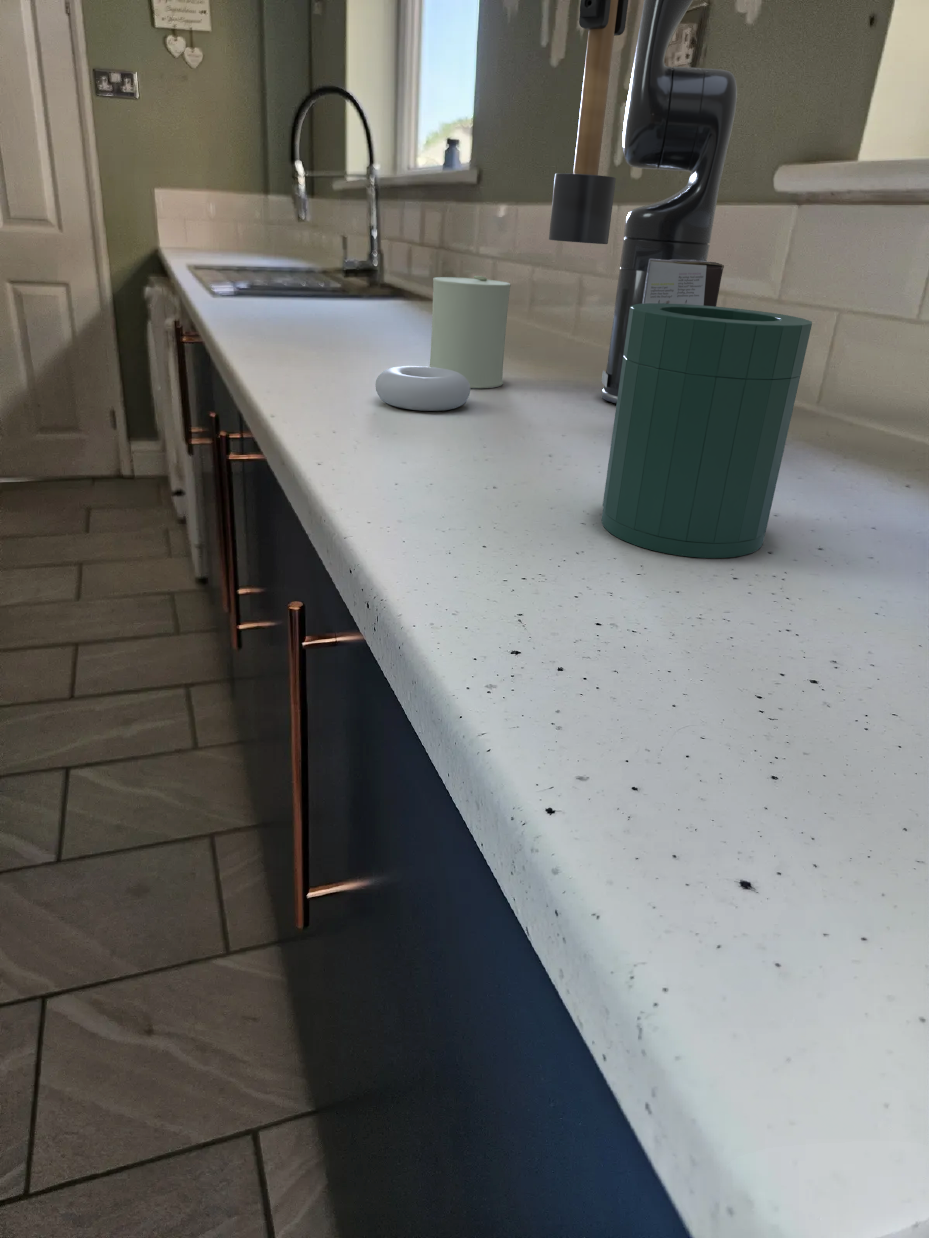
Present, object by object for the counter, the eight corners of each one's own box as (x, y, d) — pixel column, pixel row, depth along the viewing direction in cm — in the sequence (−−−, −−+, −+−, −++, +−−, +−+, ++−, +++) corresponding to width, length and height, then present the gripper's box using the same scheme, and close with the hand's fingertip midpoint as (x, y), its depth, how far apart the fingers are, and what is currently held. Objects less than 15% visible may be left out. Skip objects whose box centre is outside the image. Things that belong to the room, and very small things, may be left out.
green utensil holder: (646, 496, 66) (677, 301, 60) (786, 532, 60) (835, 320, 54) (571, 526, 58) (598, 306, 52) (723, 571, 52) (773, 329, 46)
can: (512, 381, 109) (521, 278, 104) (488, 392, 101) (496, 281, 96) (444, 372, 112) (450, 271, 107) (415, 382, 104) (420, 274, 99)
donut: (434, 420, 86) (487, 404, 94) (436, 384, 85) (489, 372, 92) (355, 404, 91) (411, 390, 98) (355, 370, 89) (412, 359, 97)
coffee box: (692, 453, 80) (725, 264, 73) (621, 445, 81) (648, 258, 74) (688, 432, 88) (718, 260, 81) (624, 425, 89) (649, 255, 82)
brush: (568, 240, 77) (598, -35, 69) (618, 244, 74) (655, -42, 66) (537, 239, 73) (564, -53, 65) (588, 243, 70) (623, -61, 62)
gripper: (634, -213, 67) (604, 51, 74) (533, -299, 57) (510, 16, 64) (725, -235, 63) (684, 46, 70) (634, -332, 53) (597, 8, 60)
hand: (601, 30), depth 67 cm, fingers closed on brush
